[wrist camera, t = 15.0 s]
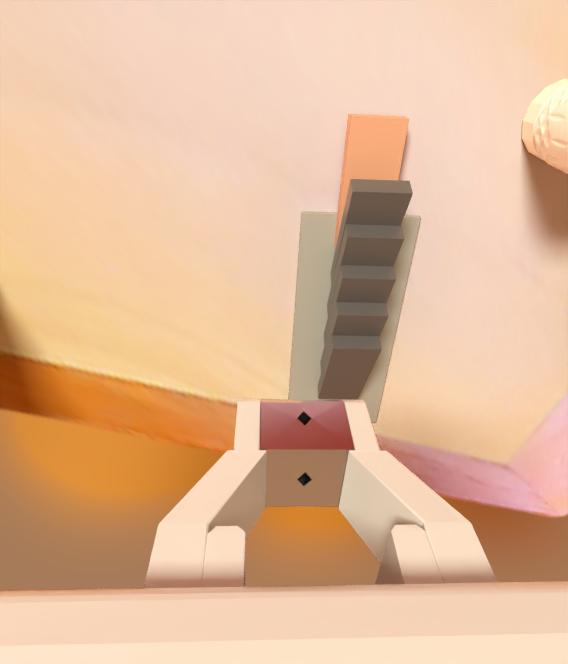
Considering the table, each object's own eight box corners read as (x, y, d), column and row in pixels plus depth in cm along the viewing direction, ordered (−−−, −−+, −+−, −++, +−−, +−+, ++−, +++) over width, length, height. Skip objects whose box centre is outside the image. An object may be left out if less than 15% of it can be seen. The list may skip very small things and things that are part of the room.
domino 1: (336, 249, 43) (351, 115, 37) (333, 243, 44) (348, 114, 38) (385, 251, 43) (409, 118, 37) (381, 245, 45) (404, 116, 38)
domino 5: (321, 373, 51) (337, 315, 41) (320, 362, 52) (336, 302, 42) (362, 374, 52) (388, 316, 42) (360, 362, 53) (386, 303, 43)
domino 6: (318, 398, 54) (333, 348, 44) (317, 387, 54) (331, 335, 44) (357, 399, 54) (381, 349, 44) (356, 387, 55) (379, 336, 45)
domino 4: (324, 346, 49) (342, 278, 39) (323, 334, 50) (340, 265, 40) (367, 347, 50) (396, 279, 40) (365, 335, 51) (393, 266, 40)
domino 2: (331, 285, 45) (352, 191, 35) (330, 273, 46) (350, 178, 36) (378, 286, 45) (412, 193, 35) (376, 274, 46) (409, 180, 36)
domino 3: (327, 316, 47) (347, 237, 37) (326, 305, 48) (345, 224, 38) (372, 317, 48) (404, 238, 38) (371, 306, 48) (401, 226, 38)
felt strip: (287, 418, 58) (287, 421, 57) (301, 211, 43) (302, 213, 43) (375, 419, 59) (376, 422, 58) (419, 215, 44) (420, 217, 43)
